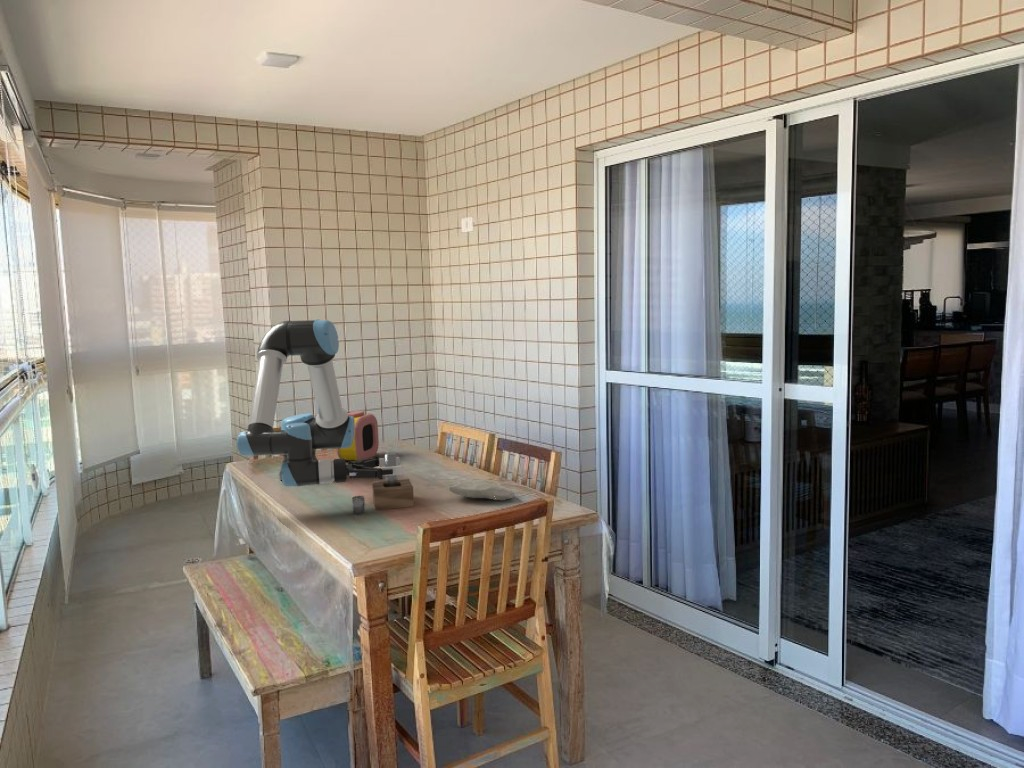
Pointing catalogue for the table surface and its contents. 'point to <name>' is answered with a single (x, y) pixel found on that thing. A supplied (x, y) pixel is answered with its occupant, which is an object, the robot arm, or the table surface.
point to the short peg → (358, 505)
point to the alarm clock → (362, 438)
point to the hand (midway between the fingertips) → (401, 465)
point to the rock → (482, 490)
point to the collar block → (392, 495)
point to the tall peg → (389, 462)
